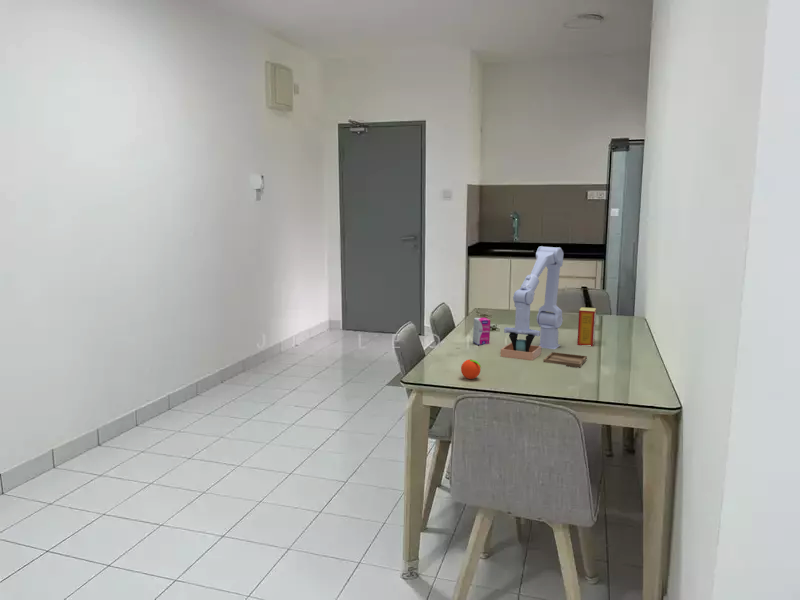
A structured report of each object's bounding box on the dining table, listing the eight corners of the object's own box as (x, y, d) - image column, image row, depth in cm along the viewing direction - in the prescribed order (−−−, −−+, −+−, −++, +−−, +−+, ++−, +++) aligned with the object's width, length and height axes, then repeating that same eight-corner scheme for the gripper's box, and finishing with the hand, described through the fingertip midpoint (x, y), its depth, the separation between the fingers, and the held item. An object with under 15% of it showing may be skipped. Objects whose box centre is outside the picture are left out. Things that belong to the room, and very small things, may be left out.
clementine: (486, 379, 217) (487, 359, 216) (475, 383, 212) (475, 363, 211) (468, 374, 222) (468, 355, 221) (456, 378, 217) (457, 359, 216)
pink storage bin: (510, 350, 259) (510, 342, 258) (541, 354, 253) (541, 346, 252) (500, 357, 247) (500, 349, 247) (532, 361, 241) (532, 353, 241)
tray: (551, 355, 251) (552, 352, 251) (586, 359, 245) (586, 356, 245) (543, 363, 239) (543, 359, 239) (579, 367, 233) (579, 364, 232)
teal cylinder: (517, 353, 253) (517, 338, 252) (528, 354, 251) (528, 340, 250) (514, 355, 249) (514, 341, 248) (524, 356, 247) (525, 342, 246)
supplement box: (477, 345, 268) (478, 320, 266) (472, 342, 274) (473, 317, 272) (489, 345, 269) (490, 319, 268) (484, 342, 275) (485, 317, 273)
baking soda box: (579, 340, 279) (581, 306, 277) (594, 342, 277) (596, 307, 275) (577, 345, 271) (579, 309, 268) (592, 346, 268) (594, 310, 266)
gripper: (502, 318, 247) (501, 351, 250) (537, 322, 241) (536, 355, 243) (507, 316, 254) (506, 347, 256) (542, 319, 247) (540, 352, 249)
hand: (521, 351), depth 250 cm, fingers closed on teal cylinder, 4 cm apart
